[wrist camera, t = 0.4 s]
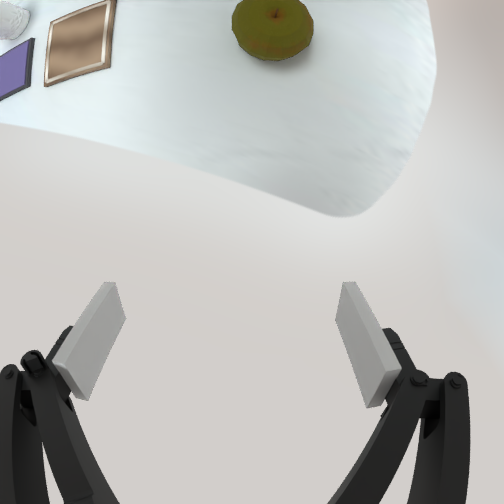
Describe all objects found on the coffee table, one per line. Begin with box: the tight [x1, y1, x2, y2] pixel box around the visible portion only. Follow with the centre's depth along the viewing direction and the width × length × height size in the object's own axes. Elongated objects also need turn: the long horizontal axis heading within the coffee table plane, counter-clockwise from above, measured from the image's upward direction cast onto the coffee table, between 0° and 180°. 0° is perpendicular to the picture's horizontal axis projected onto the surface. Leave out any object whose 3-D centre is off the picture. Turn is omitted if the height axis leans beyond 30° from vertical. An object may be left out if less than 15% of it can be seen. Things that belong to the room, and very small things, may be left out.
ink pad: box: [0, 38, 35, 101], centre depth 27 cm, size 10×10×1 cm
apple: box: [232, 0, 313, 61], centre depth 25 cm, size 10×10×11 cm
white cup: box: [0, 0, 30, 40], centre depth 18 cm, size 8×8×10 cm
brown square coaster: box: [44, 0, 116, 87], centre depth 27 cm, size 13×13×1 cm
